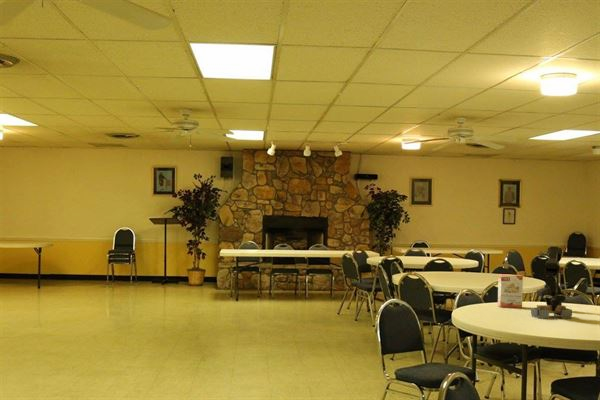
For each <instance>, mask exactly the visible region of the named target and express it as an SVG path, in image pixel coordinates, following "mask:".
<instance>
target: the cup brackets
mask: <svg viewBox="0 0 600 400" xmlns="http://www.w3.org/2000/svg"><path fill="white" fill-rule="evenodd" d="M530 314H531V317H533V318H536V319H538V320H539V319H540V318H541V319H542V318H543V320H548V319H563V320H567V319H568V320H569V319H572V316H573V309H571V308H567V307H566V310H561V313H553V315H550V313H549V310H538V309H537V307H531V308H530ZM544 318H545V319H544ZM541 319H540V320H541Z"/></svg>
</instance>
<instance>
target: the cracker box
mask: <svg viewBox="0 0 600 400" xmlns="http://www.w3.org/2000/svg"><path fill="white" fill-rule="evenodd" d="M523 277H524V276H523V275H520V274H507V273H506V274H504V273H503V274H502V273H500V274H498V283H497V286H498V287H497V307H499V308H511V309H512V308H513V309H522V308H523V285H524V284H523V283H524V282H523V281H524V280H523V279H524V278H523Z"/></svg>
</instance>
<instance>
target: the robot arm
mask: <svg viewBox="0 0 600 400" xmlns="http://www.w3.org/2000/svg"><path fill="white" fill-rule="evenodd" d="M547 255H548V260H546V262H545V264H544V268H543V271H544V272H543V273H544V275H546V276H545V279H544V282H545V284H544V287H542V288H539V289H537V290H536V295H537V297H540V298H542V299H543V300H544V301H545V305H552V311H555V309H556V307H557V306H558V305H562V303H563V302H565V301H566V299H567V298H566V297H567V296H565V293H564V292H563V290H562V289H563V288H562V287H561V285H560V274H561V273H560V272H561V266H560V261H561V260H562V257H563V256H564V251H563V248H561V247H559V246H549V247H548V248H547Z"/></svg>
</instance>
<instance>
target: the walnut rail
mask: <svg viewBox="0 0 600 400" xmlns="http://www.w3.org/2000/svg"><path fill="white" fill-rule="evenodd" d="M536 308H537V309H538V310H549V314H554V313H561V310H566V308H567V306H566V305H558V306H557V307H556V309H555V311H552V305H547V304H545V305H544V304H541V305H539V304H537V305H536Z"/></svg>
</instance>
